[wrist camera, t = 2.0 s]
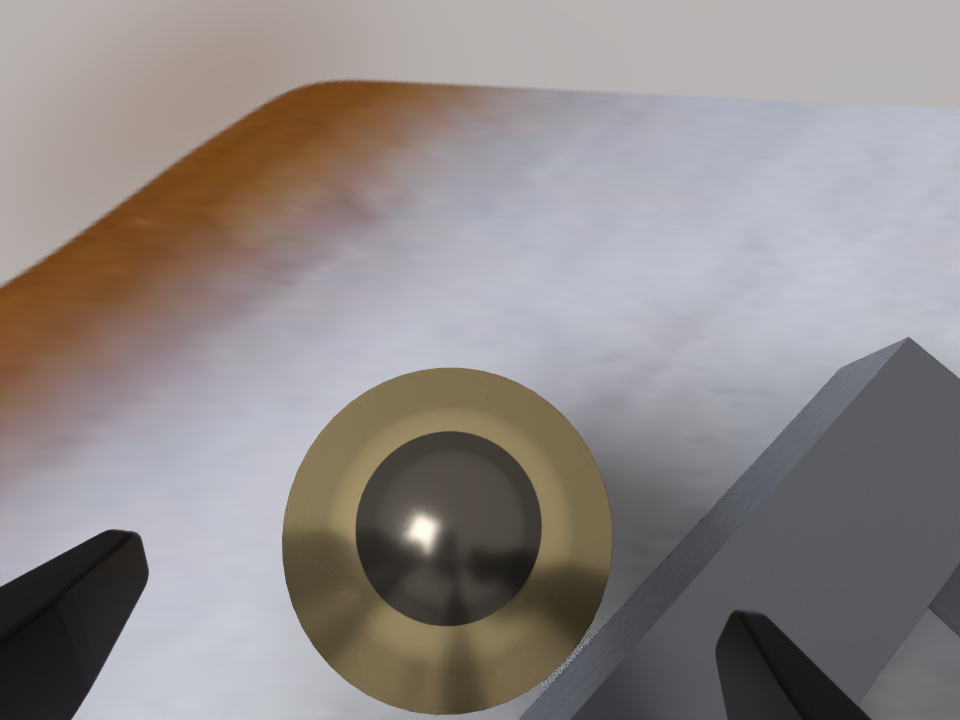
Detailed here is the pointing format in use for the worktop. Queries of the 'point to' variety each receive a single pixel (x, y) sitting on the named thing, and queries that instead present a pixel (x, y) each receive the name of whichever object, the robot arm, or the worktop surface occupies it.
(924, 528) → the plate
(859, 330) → the worktop surface
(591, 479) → the brass bushing
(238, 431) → the worktop surface
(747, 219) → the worktop surface
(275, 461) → the worktop surface
